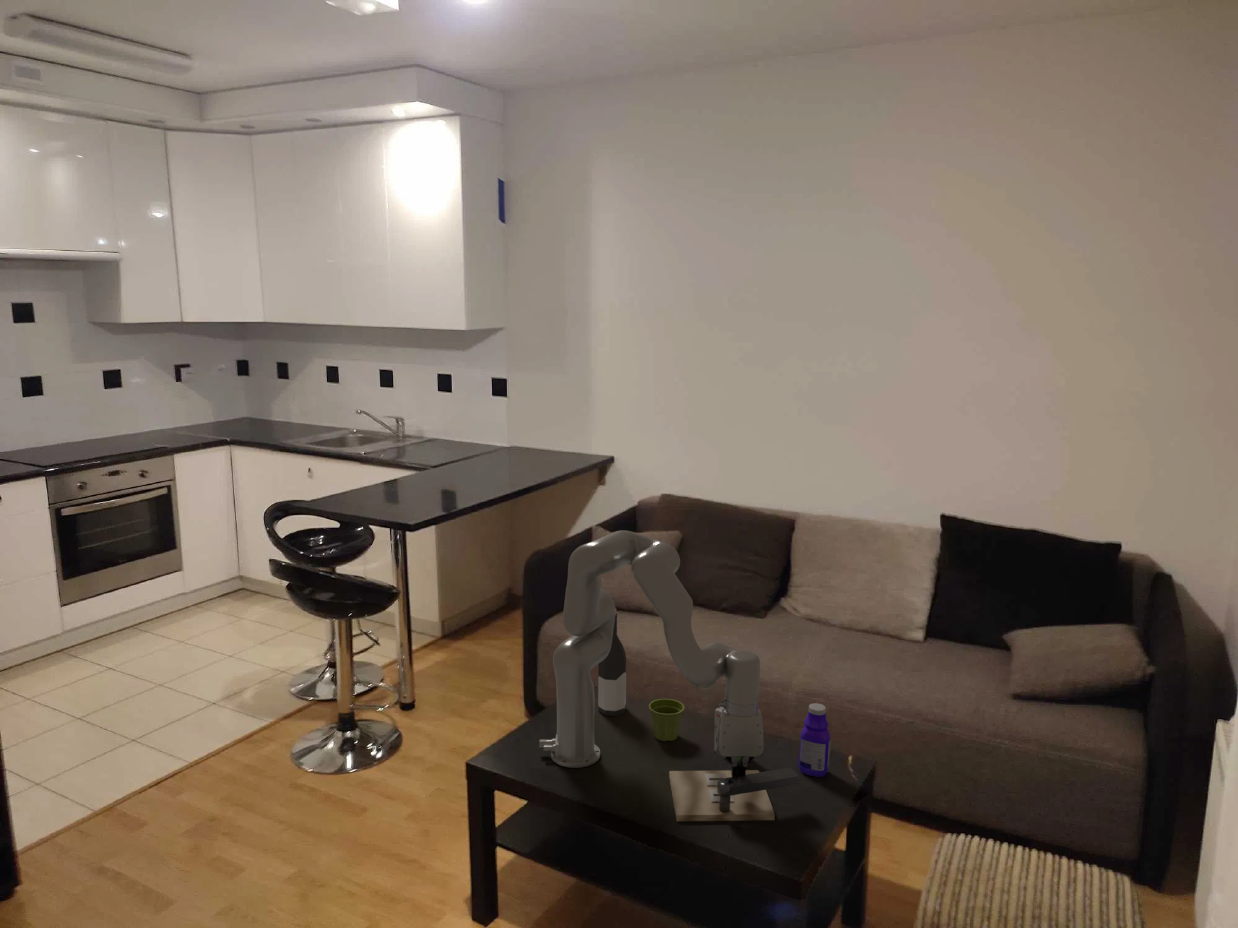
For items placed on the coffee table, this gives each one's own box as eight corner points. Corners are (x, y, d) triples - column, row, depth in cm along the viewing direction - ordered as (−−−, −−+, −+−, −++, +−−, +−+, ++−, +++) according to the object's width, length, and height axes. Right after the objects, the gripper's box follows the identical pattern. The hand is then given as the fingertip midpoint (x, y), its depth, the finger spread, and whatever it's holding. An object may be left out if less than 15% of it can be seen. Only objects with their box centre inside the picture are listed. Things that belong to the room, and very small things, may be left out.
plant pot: (660, 724, 244) (661, 695, 243) (690, 734, 239) (690, 704, 237) (641, 738, 237) (642, 707, 235) (671, 748, 231) (672, 717, 230)
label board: (676, 821, 199) (677, 798, 198) (669, 776, 218) (669, 755, 217) (774, 819, 200) (775, 797, 199) (758, 775, 218) (759, 754, 217)
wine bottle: (607, 701, 258) (607, 602, 253) (631, 707, 254) (632, 607, 249) (592, 711, 252) (592, 610, 246) (617, 718, 248) (618, 616, 242)
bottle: (830, 769, 221) (834, 704, 218) (825, 780, 216) (829, 714, 213) (801, 763, 224) (804, 698, 221) (796, 774, 219) (799, 708, 216)
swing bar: (714, 787, 202) (714, 779, 201) (790, 775, 207) (791, 767, 207) (721, 797, 198) (721, 788, 197) (799, 783, 203) (799, 775, 203)
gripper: (711, 713, 199) (708, 788, 202) (777, 713, 199) (773, 788, 203) (706, 698, 206) (703, 771, 209) (770, 698, 207) (767, 770, 210)
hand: (738, 779), depth 206 cm, fingers closed
